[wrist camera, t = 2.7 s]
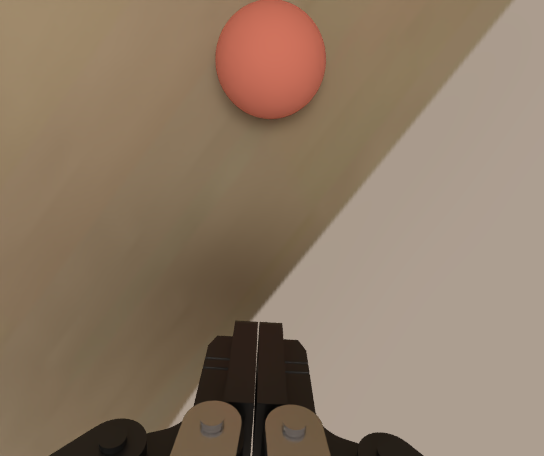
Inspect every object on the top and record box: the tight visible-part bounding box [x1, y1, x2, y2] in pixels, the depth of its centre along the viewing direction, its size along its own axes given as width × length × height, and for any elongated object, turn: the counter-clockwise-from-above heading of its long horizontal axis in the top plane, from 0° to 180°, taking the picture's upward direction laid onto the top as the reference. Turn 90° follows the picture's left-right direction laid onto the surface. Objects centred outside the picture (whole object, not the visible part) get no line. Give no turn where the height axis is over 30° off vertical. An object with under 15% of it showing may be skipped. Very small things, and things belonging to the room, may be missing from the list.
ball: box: [216, 0, 326, 119], centre depth 20 cm, size 6×6×6 cm
